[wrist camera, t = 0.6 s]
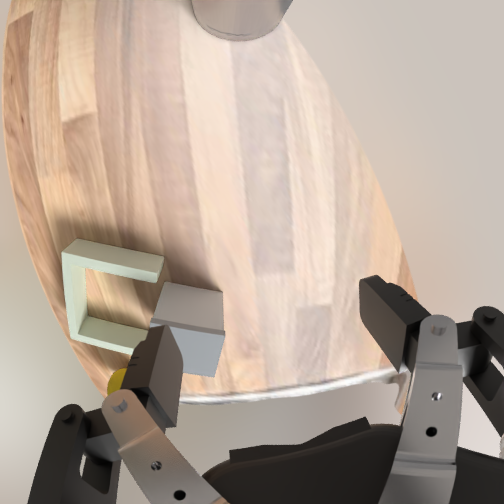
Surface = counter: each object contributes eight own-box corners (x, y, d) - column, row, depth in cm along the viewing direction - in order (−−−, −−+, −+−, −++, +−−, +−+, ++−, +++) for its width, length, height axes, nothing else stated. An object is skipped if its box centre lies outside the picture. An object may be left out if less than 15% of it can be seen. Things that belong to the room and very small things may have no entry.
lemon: (113, 353, 36) (99, 394, 29) (149, 362, 37) (139, 404, 30) (115, 376, 38) (104, 415, 31) (148, 384, 39) (140, 424, 32)
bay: (76, 238, 29) (61, 251, 25) (164, 256, 31) (157, 273, 27) (81, 320, 33) (70, 338, 30) (156, 338, 35) (151, 359, 32)
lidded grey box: (164, 280, 32) (150, 322, 25) (223, 291, 33) (225, 335, 26) (159, 321, 34) (148, 366, 27) (214, 331, 36) (214, 377, 28)
